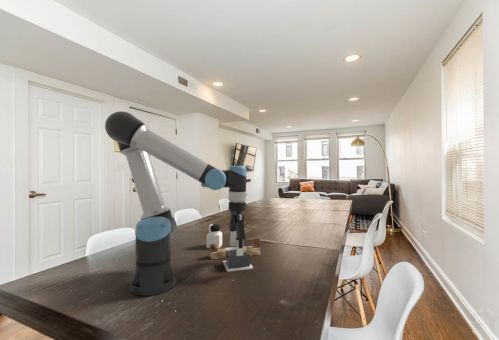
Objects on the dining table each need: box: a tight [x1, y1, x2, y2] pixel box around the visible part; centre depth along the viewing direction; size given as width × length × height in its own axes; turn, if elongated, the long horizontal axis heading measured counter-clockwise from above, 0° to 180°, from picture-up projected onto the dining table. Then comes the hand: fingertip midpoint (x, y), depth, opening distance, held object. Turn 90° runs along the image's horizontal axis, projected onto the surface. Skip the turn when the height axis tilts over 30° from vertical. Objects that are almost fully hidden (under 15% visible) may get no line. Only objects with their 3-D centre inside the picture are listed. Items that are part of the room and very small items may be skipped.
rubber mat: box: [222, 260, 254, 273], centre depth 105 cm, size 11×11×1 cm
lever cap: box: [225, 248, 251, 269], centre depth 105 cm, size 9×8×6 cm
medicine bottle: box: [206, 223, 223, 249], centre depth 132 cm, size 7×7×12 cm
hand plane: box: [209, 237, 261, 260], centre depth 118 cm, size 24×5×8 cm, turn 106°
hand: (236, 250), depth 105 cm, fingers open, 13 cm apart
